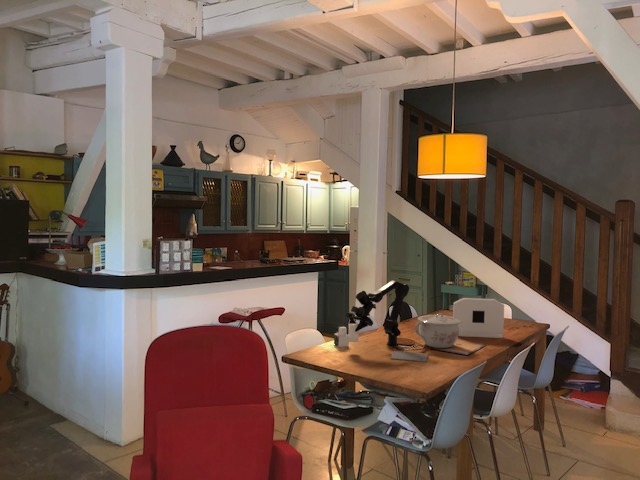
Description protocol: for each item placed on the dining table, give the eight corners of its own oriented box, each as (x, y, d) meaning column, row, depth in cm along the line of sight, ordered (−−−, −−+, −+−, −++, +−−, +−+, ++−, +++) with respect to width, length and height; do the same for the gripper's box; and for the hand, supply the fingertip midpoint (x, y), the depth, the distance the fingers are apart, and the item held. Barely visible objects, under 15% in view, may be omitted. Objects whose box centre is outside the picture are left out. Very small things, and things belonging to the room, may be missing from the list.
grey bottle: (333, 344, 329) (334, 325, 328) (344, 343, 331) (344, 325, 331) (338, 347, 322) (338, 328, 321) (348, 346, 325) (349, 327, 324)
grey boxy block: (494, 330, 379) (496, 294, 378) (503, 338, 355) (504, 299, 354) (447, 328, 383) (448, 292, 381) (452, 336, 359) (453, 297, 357)
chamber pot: (461, 342, 341) (462, 310, 340) (460, 353, 314) (462, 318, 313) (417, 338, 348) (418, 307, 347) (413, 349, 322) (414, 315, 321)
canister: (349, 339, 315) (349, 322, 314) (359, 340, 313) (359, 323, 313) (347, 341, 309) (347, 325, 309) (357, 342, 308) (357, 325, 307)
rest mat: (393, 351, 314) (393, 350, 314) (427, 354, 309) (427, 353, 309) (390, 359, 299) (390, 358, 299) (426, 362, 294) (426, 361, 294)
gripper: (348, 299, 320) (334, 319, 313) (370, 303, 305) (355, 324, 299) (357, 310, 325) (344, 330, 319) (379, 315, 310) (365, 336, 304)
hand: (351, 330), depth 310 cm, fingers closed on canister, 6 cm apart
